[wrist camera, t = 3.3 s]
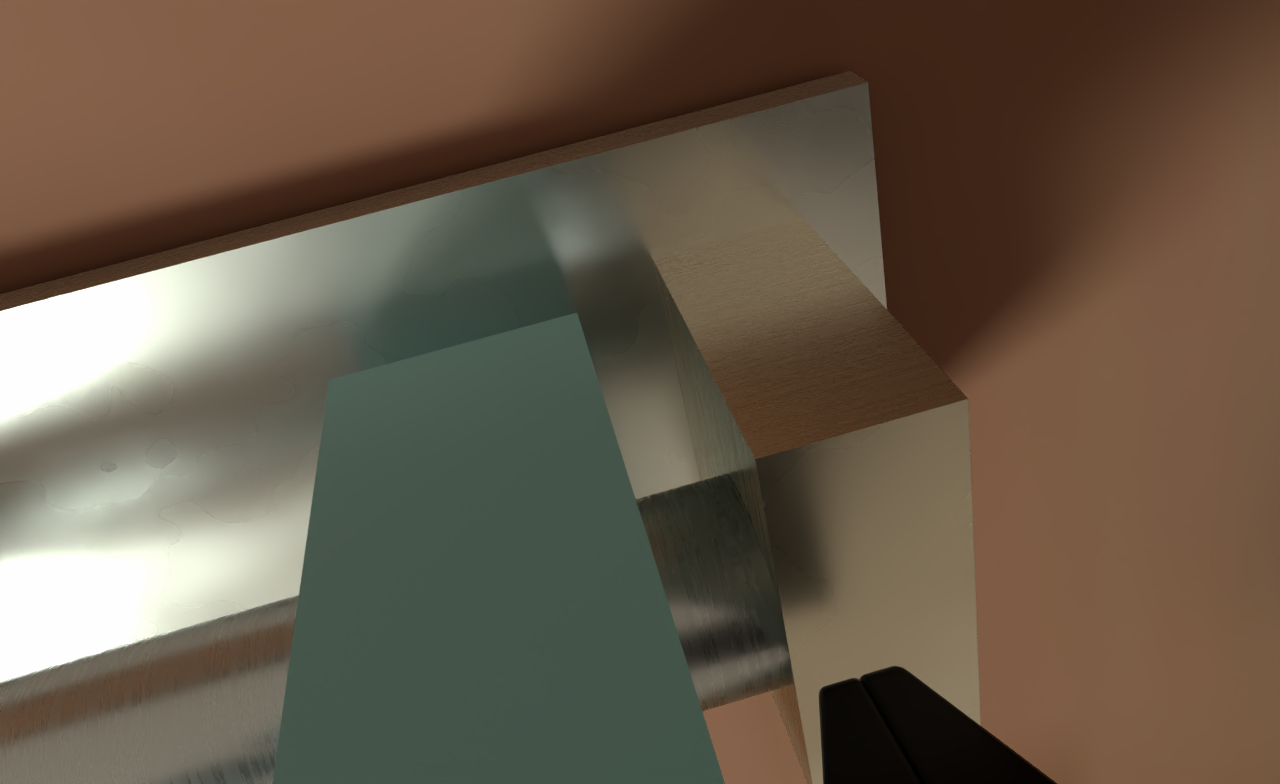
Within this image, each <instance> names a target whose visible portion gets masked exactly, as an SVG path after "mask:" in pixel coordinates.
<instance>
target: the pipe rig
mask: <svg viewBox="0 0 1280 784" xmlns="http://www.w3.org/2000/svg"><path fill="white" fill-rule="evenodd" d="M573 313H577V314H578V318H579V321H580V324H581V327H582V330H583V333H584V337H585V340H586V343H587V346H588V349H589V353H590V356H591V359H592V362H593V365H594V368H595V372H596V375H597V378H598V381H599V384H600V388H601V391H602V394H603V397H604V400H605V404H606V407H607V410H608V413H609V416H610V419H611V423H612V426H613V429H614V432H615V435H616V439H617V442H618V445H619V448H620V451H621V454H622V458H623V461H624V464H625V467H626V470H627V474H628V477H629V480H630V483H631V486H632V489H633V493H634V496H635V499H636V502H637V505H638V509H639V512H640V515H641V518H642V521H643V525H644V528H645V531H646V534H647V537H648V540H649V544H650V547H651V550H652V553H653V556H654V560H655V563H656V566H657V569H658V572H659V575H660V579H661V582H662V585H663V588H664V591H665V595H666V598H667V601H668V604H669V607H670V611H671V614H672V617H673V620H674V623H675V626H676V630H677V633H678V636H679V639H680V642H681V646H682V649H683V652H684V655H685V658H686V661H687V665H688V668H689V671H690V674H691V677H692V681H693V684H694V687H695V690H696V693H697V696H698V700H699V703H700V706H701V709H702V711H705V710H708V709H712V708H715V707H718V706H722V705H725V704H728V703H732V702H735V701H739V700H742V699H745V698H749V697H752V696H755V695H759V694H762V693H765V692H769V691H771V693H772V695H773V698H774V700H775V703H776V705H777V708H778V710H779V713H780V715H781V718H782V720H783V723H784V725H785V728H786V730H787V733H788V736H789V738H790V741H791V743H792V746H793V748H794V751H795V753H796V756H797V758H798V761H799V763H800V766H801V768H802V771H803V773H804V776H805V778H806V781H807V783H808V784H823V770H822V751H821V732H820V714H819V691H820V689H821V688H822V687H824V686H827V685H830V684H834V683H837V682H840V681H844V680H847V679H850V678H857V679H859V678H860V677H861V676H862V675H864V674H867V673H870V672H874V671H877V670H880V669H884V668H887V667H890V666H899V667H903V668H905V669H906V670H907V671H909V672H910V673H911V674H913V675H914V676H915V677H917V678H918V679H919V680H921V681H922V682H923V683H925V684H926V685H927V686H929V687H930V688H931V689H933V690H934V691H935V692H937V693H938V694H939V695H941V696H942V697H943V698H945V699H946V700H947V701H949V702H950V703H951V704H953V705H954V706H955V707H956V708H958V709H959V710H960V711H962V712H963V713H964V714H966V715H967V716H968V717H970V718H971V719H972V720H974V721H975V722H976V723H978V724H979V725H980V701H979V674H978V647H977V621H976V594H975V567H974V541H973V514H972V487H971V461H970V434H969V408H968V398H967V397H966V396H965V395H964V394H963V393H962V392H961V390H960V389H959V388H958V387H957V386H956V385H955V384H954V383H953V382H952V381H951V379H950V378H949V377H948V376H947V375H946V374H945V373H944V372H943V371H942V370H941V368H940V367H939V366H938V365H937V364H936V363H935V362H934V361H933V360H932V359H931V357H930V356H929V355H928V354H927V353H926V352H925V351H924V350H923V349H922V348H921V347H920V345H919V344H918V343H917V342H916V341H915V340H914V339H913V338H912V337H911V336H910V334H909V333H908V332H907V331H906V330H905V329H904V328H903V327H902V326H901V325H900V323H899V322H898V321H897V320H896V319H895V318H894V317H893V316H892V315H891V314H890V312H889V311H888V310H887V302H886V290H885V278H884V266H883V254H882V242H881V230H880V218H879V206H878V194H877V182H876V170H875V158H874V146H873V134H872V122H871V110H870V98H869V86H868V82H867V81H865V80H864V79H862V78H861V77H859V76H858V75H856V74H854V73H853V72H851V71H848V72H844V73H840V74H836V75H832V76H829V77H825V78H821V79H817V80H813V81H809V82H806V83H802V84H798V85H794V86H790V87H787V88H783V89H779V90H775V91H771V92H768V93H764V94H760V95H756V96H752V97H749V98H745V99H741V100H737V101H733V102H730V103H726V104H722V105H718V106H714V107H711V108H707V109H703V110H699V111H695V112H692V113H688V114H684V115H680V116H676V117H673V118H669V119H665V120H661V121H657V122H654V123H650V124H646V125H642V126H638V127H634V128H631V129H627V130H623V131H619V132H615V133H612V134H608V135H604V136H600V137H596V138H593V139H589V140H585V141H581V142H577V143H574V144H570V145H566V146H562V147H558V148H555V149H551V150H547V151H543V152H539V153H536V154H532V155H528V156H524V157H520V158H517V159H513V160H509V161H505V162H501V163H498V164H494V165H490V166H486V167H482V168H479V169H475V170H471V171H467V172H463V173H460V174H456V175H452V176H448V177H444V178H440V179H437V180H433V181H429V182H425V183H421V184H418V185H414V186H410V187H406V188H402V189H399V190H395V191H391V192H387V193H383V194H380V195H376V196H372V197H368V198H364V199H361V200H357V201H353V202H349V203H345V204H342V205H338V206H334V207H330V208H326V209H323V210H319V211H315V212H311V213H307V214H304V215H300V216H296V217H292V218H288V219H285V220H281V221H277V222H273V223H269V224H265V225H262V226H258V227H254V228H250V229H246V230H243V231H239V232H235V233H231V234H227V235H224V236H220V237H216V238H212V239H208V240H205V241H201V242H197V243H193V244H189V245H186V246H182V247H178V248H174V249H170V250H167V251H163V252H159V253H155V254H151V255H148V256H144V257H140V258H136V259H132V260H129V261H125V262H121V263H117V264H113V265H110V266H106V267H102V268H98V269H94V270H90V271H87V272H83V273H79V274H75V275H71V276H68V277H64V278H60V279H56V280H52V281H49V282H45V283H41V284H37V285H33V286H30V287H26V288H22V289H18V290H14V291H11V292H7V293H3V294H0V784H272V782H273V775H274V768H275V761H276V754H277V747H278V739H279V732H280V725H281V718H282V711H283V704H284V697H285V690H286V683H287V675H288V668H289V661H290V654H291V647H292V640H293V633H294V626H295V619H296V611H297V604H298V597H299V590H300V583H301V576H302V569H303V562H304V554H305V547H306V540H307V533H308V526H309V519H310V512H311V505H312V498H313V490H314V483H315V476H316V469H317V462H318V455H319V448H320V441H321V433H322V426H323V419H324V412H325V405H326V398H327V391H328V384H329V380H331V379H335V378H338V377H342V376H346V375H349V374H353V373H357V372H360V371H364V370H368V369H371V368H375V367H379V366H382V365H386V364H390V363H393V362H397V361H401V360H404V359H408V358H412V357H415V356H419V355H423V354H426V353H430V352H434V351H437V350H441V349H445V348H448V347H452V346H456V345H459V344H463V343H467V342H470V341H474V340H478V339H481V338H485V337H489V336H492V335H496V334H500V333H503V332H507V331H511V330H514V329H518V328H522V327H525V326H529V325H533V324H537V323H540V322H544V321H548V320H551V319H555V318H559V317H562V316H566V315H570V314H573Z"/></svg>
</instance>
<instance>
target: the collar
mask: <svg viewBox="0 0 1280 784" xmlns="http://www.w3.org/2000/svg"><path fill="white" fill-rule="evenodd" d="M272 784H725V782H724V779H723V776H722V773H721V770H720V767H719V763H718V760H717V757H716V754H715V751H714V747H713V744H712V741H711V738H710V735H709V732H708V728H707V725H706V722H705V719H704V716H703V712H702V709H701V706H700V703H699V700H698V696H697V693H696V690H695V687H694V684H693V681H692V677H691V674H690V671H689V668H688V665H687V661H686V658H685V655H684V652H683V649H682V646H681V642H680V639H679V636H678V633H677V630H676V626H675V623H674V620H673V617H672V614H671V611H670V607H669V604H668V601H667V598H666V595H665V591H664V588H663V585H662V582H661V579H660V575H659V572H658V569H657V566H656V563H655V560H654V556H653V553H652V550H651V547H650V544H649V540H648V537H647V534H646V531H645V528H644V525H643V521H642V518H641V515H640V512H639V509H638V505H637V502H636V499H635V496H634V493H633V489H632V486H631V483H630V480H629V477H628V474H627V470H626V467H625V464H624V461H623V458H622V454H621V451H620V448H619V445H618V442H617V439H616V435H615V432H614V429H613V426H612V423H611V419H610V416H609V413H608V410H607V407H606V404H605V400H604V397H603V394H602V391H601V388H600V384H599V381H598V378H597V375H596V372H595V368H594V365H593V362H592V359H591V356H590V353H589V349H588V346H587V343H586V340H585V337H584V333H583V330H582V327H581V324H580V321H579V318H578V314H577V313H573V314H570V315H566V316H562V317H559V318H555V319H551V320H548V321H544V322H540V323H537V324H533V325H529V326H525V327H522V328H518V329H514V330H511V331H507V332H503V333H500V334H496V335H492V336H489V337H485V338H481V339H478V340H474V341H470V342H467V343H463V344H459V345H456V346H452V347H448V348H445V349H441V350H437V351H434V352H430V353H426V354H423V355H419V356H415V357H412V358H408V359H404V360H401V361H397V362H393V363H390V364H386V365H382V366H379V367H375V368H371V369H368V370H364V371H360V372H357V373H353V374H349V375H346V376H342V377H338V378H335V379H331V380H329V384H328V391H327V398H326V405H325V412H324V419H323V426H322V433H321V441H320V448H319V455H318V462H317V469H316V476H315V483H314V490H313V498H312V505H311V512H310V519H309V526H308V533H307V540H306V547H305V554H304V562H303V569H302V576H301V583H300V590H299V597H298V604H297V611H296V619H295V626H294V633H293V640H292V647H291V654H290V661H289V668H288V675H287V683H286V690H285V697H284V704H283V711H282V718H281V725H280V732H279V739H278V747H277V754H276V761H275V768H274V775H273V782H272Z"/></svg>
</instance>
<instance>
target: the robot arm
mask: <svg viewBox="0 0 1280 784" xmlns="http://www.w3.org/2000/svg"><path fill="white" fill-rule="evenodd" d="M819 714H820V732H821V751H822V770H823V784H1057V783H1056V782H1054V781H1053V780H1052V779H1050V778H1049V777H1048V776H1046V775H1045V774H1044V773H1043V772H1041V771H1040V770H1039V769H1037V768H1036V767H1035V766H1033V765H1032V764H1031V763H1029V762H1028V761H1027V760H1025V759H1024V758H1023V757H1021V756H1020V755H1019V754H1017V753H1016V752H1015V751H1013V750H1012V749H1011V748H1009V747H1008V746H1007V745H1005V744H1004V743H1003V742H1001V741H1000V740H999V739H998V738H996V737H995V736H994V735H992V734H991V733H990V732H988V731H987V730H986V729H984V728H983V727H982V726H980V725H979V724H978V723H976V722H975V721H974V720H972V719H971V718H970V717H968V716H967V715H966V714H964V713H963V712H962V711H960V710H959V709H958V708H956V707H955V706H954V705H953V704H951V703H950V702H949V701H947V700H946V699H945V698H943V697H942V696H941V695H939V694H938V693H937V692H935V691H934V690H933V689H931V688H930V687H929V686H927V685H926V684H925V683H923V682H922V681H921V680H919V679H918V678H917V677H915V676H914V675H913V674H911V673H910V672H909V671H907V670H906V669H905V668H903V667H899V666H890V667H887V668H884V669H880V670H877V671H874V672H870V673H867V674H864V675H862V676H861V677H860V678H859V679H857V678H850V679H847V680H844V681H840V682H837V683H834V684H830V685H827V686H824V687H822V688H821V689H820V691H819Z"/></svg>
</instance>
